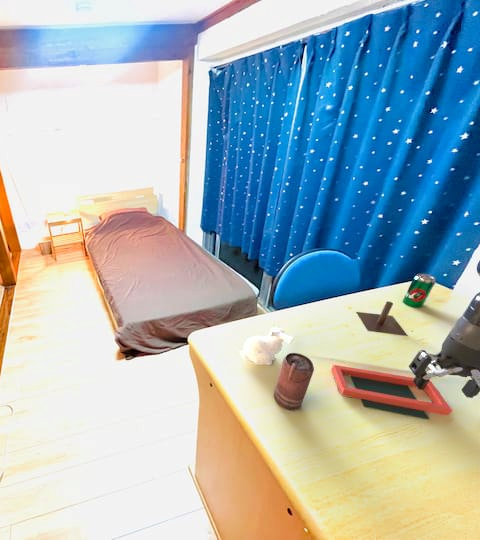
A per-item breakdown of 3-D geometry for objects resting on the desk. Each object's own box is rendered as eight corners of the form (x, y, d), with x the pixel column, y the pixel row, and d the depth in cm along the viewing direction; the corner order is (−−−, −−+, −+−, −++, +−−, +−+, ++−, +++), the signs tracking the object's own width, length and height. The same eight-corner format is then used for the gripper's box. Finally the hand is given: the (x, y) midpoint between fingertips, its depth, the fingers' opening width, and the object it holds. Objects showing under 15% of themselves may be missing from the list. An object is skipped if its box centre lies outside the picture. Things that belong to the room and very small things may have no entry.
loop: (331, 369, 77) (333, 364, 76) (426, 385, 70) (430, 380, 69) (341, 395, 70) (343, 390, 69) (448, 415, 63) (452, 410, 62)
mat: (401, 377, 73) (402, 376, 73) (428, 419, 63) (429, 418, 63) (346, 368, 77) (347, 367, 77) (364, 406, 67) (364, 405, 67)
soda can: (425, 310, 94) (441, 280, 89) (407, 310, 95) (423, 280, 90) (413, 302, 99) (428, 272, 93) (397, 301, 100) (411, 272, 94)
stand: (390, 318, 93) (402, 295, 88) (406, 338, 84) (419, 315, 80) (354, 314, 96) (363, 292, 91) (366, 333, 88) (376, 310, 83)
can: (269, 402, 70) (279, 363, 64) (278, 386, 74) (289, 347, 67) (295, 417, 66) (310, 377, 60) (304, 399, 70) (318, 360, 63)
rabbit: (271, 345, 87) (279, 315, 81) (291, 369, 78) (300, 337, 73) (234, 351, 86) (239, 321, 80) (249, 375, 78) (256, 343, 72)
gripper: (510, 331, 58) (471, 383, 66) (422, 322, 63) (395, 372, 70) (544, 358, 52) (496, 412, 60) (443, 345, 57) (411, 397, 64)
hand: (441, 390), depth 65 cm, fingers open, 8 cm apart
